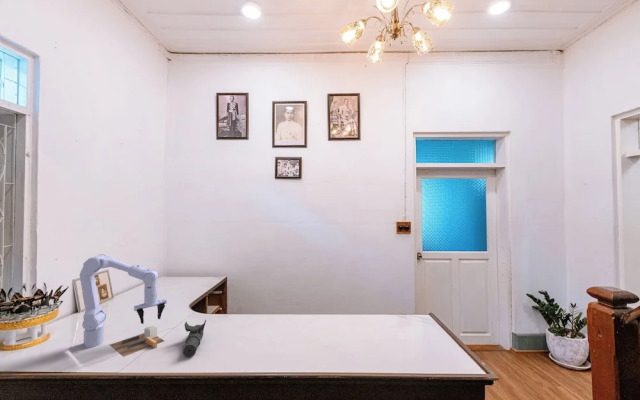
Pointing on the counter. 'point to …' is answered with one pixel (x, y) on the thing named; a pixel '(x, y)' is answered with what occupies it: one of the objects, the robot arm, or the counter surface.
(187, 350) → the laser sight
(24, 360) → the counter surface
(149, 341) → the bar
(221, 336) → the counter surface
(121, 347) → the base board
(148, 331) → the white block
